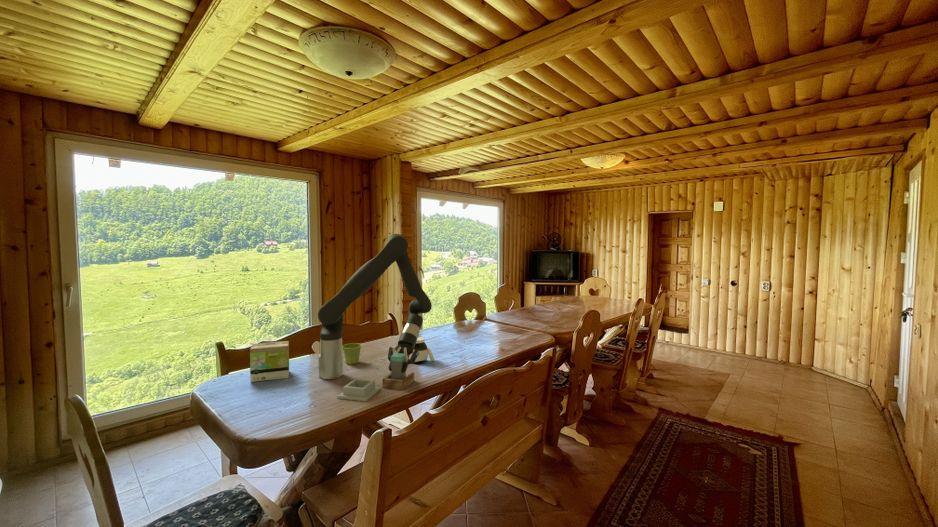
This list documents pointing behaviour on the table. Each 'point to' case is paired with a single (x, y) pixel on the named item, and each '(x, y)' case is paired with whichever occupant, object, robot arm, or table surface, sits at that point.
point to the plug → (397, 366)
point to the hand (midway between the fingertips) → (396, 371)
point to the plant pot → (352, 352)
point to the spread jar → (422, 351)
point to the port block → (359, 390)
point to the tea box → (269, 361)
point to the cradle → (397, 382)
